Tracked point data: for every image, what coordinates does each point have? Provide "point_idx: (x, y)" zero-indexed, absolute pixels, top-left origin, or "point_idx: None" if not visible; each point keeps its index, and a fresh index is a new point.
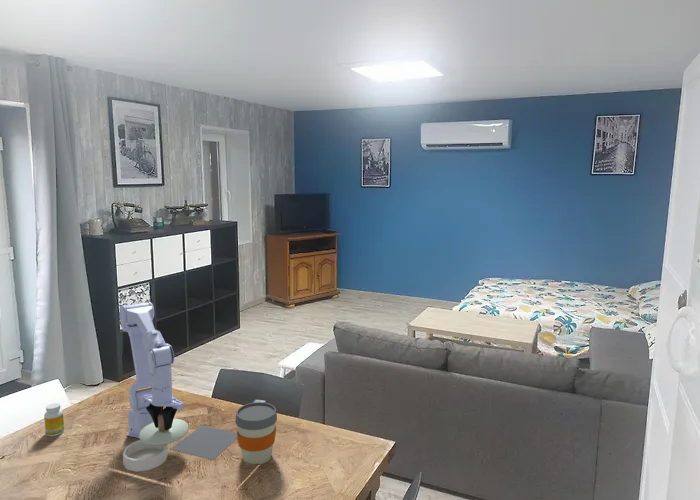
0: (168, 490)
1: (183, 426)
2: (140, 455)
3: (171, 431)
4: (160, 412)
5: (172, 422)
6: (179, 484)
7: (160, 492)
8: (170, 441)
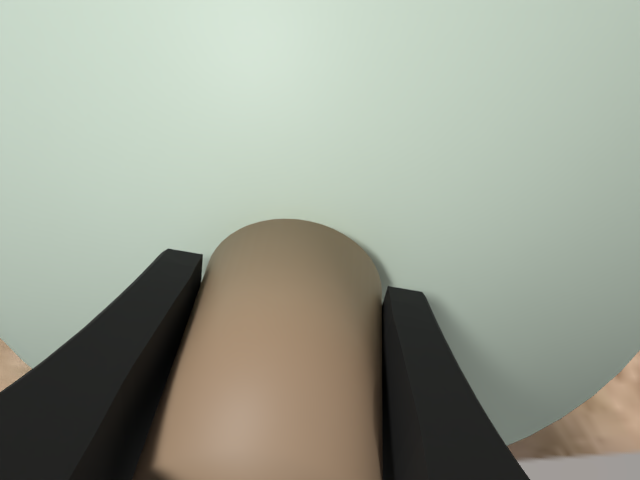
0: (573, 433)
1: (590, 117)
2: None
3: (433, 281)
4: (101, 477)
5: (449, 351)
6: (629, 387)
7: (529, 448)
8: (522, 427)
